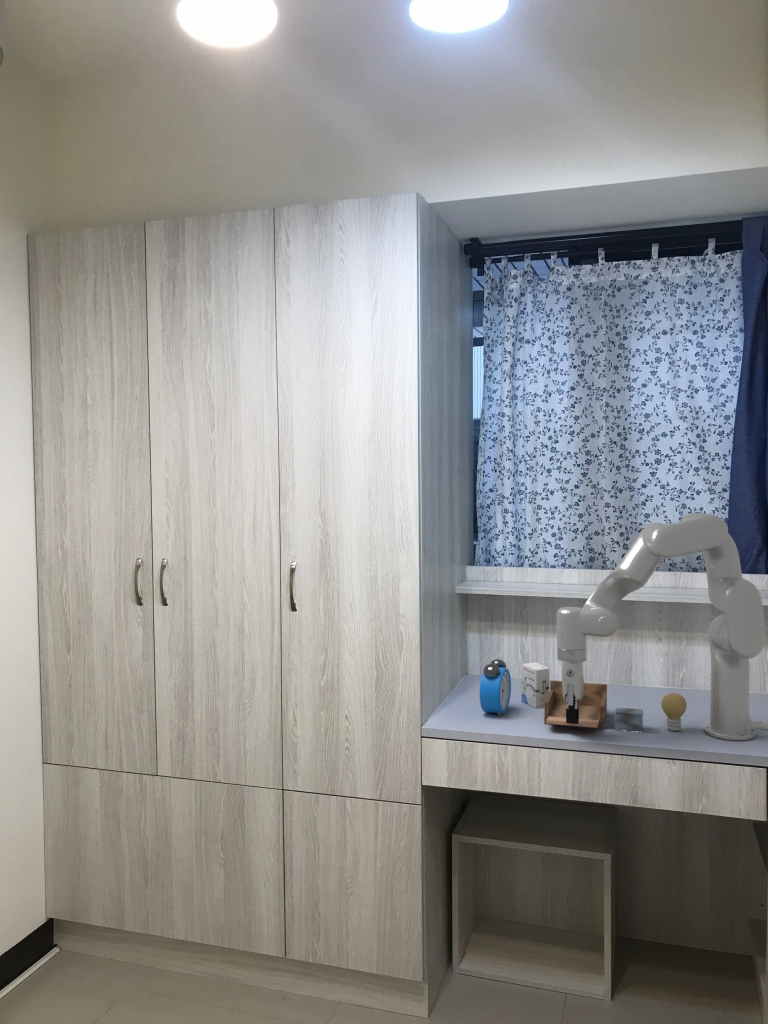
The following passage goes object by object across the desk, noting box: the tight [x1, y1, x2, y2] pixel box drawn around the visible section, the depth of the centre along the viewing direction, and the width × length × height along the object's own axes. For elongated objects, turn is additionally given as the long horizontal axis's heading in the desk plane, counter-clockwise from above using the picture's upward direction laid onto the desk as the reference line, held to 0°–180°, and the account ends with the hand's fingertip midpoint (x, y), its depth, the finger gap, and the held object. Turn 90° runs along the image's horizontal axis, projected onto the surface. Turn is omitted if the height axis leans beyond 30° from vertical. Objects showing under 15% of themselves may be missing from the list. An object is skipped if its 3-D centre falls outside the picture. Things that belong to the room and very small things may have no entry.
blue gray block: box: [614, 707, 644, 733], centre depth 226 cm, size 7×5×5 cm, turn 72°
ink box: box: [521, 662, 550, 709], centre depth 250 cm, size 9×5×12 cm, turn 21°
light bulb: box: [660, 692, 687, 732], centre depth 224 cm, size 6×6×10 cm
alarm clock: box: [479, 658, 512, 717], centre depth 242 cm, size 13×6×15 cm, turn 157°
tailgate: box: [546, 716, 599, 728], centre depth 225 cm, size 13×1×7 cm
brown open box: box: [543, 680, 608, 730], centre depth 235 cm, size 16×15×8 cm
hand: (572, 722), depth 220 cm, fingers closed
